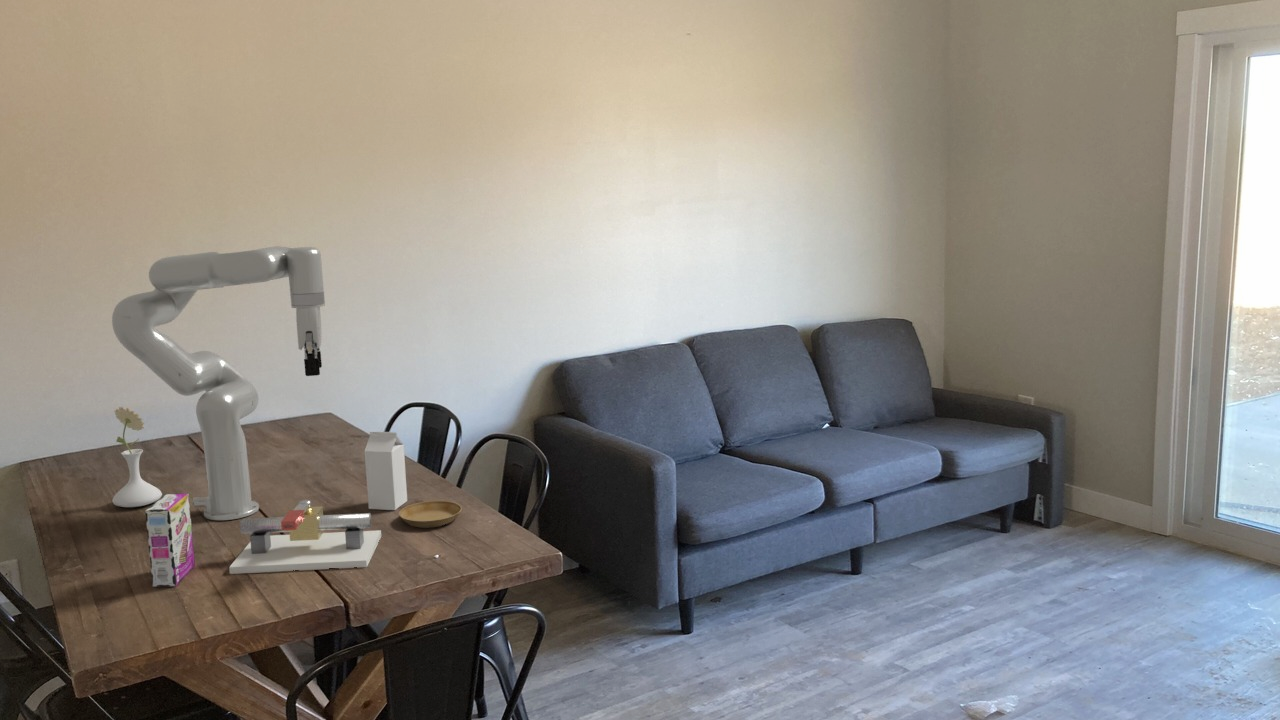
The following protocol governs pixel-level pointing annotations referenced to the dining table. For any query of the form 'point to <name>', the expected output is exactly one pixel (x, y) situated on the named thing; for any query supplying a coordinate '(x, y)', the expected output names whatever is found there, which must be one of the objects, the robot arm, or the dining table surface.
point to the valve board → (307, 554)
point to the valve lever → (295, 516)
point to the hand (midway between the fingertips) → (313, 371)
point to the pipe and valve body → (307, 528)
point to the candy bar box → (170, 540)
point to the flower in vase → (133, 468)
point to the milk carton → (385, 471)
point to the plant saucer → (430, 513)
